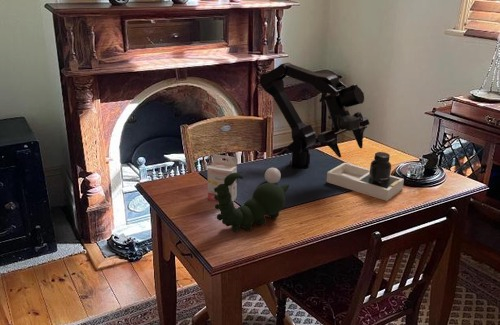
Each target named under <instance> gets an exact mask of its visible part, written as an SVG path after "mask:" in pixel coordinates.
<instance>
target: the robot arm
mask: <svg viewBox="0 0 500 325" xmlns="http://www.w3.org/2000/svg"><path fill="white" fill-rule="evenodd" d="M287 77H289V78H291V79H295V80H297V81H299V82H303V83H306V84H308V85H310V86H312V88H314V90H315V91H318V93H319V92H320V93H321V96H320V99H319V100H318V102H320V103H322V102H325V105H326V108H327V112H328V119H329V120H331V122H332V123H331V124H332V127H331V129H332V130H326V131H323V132H321V133H319V134H318V135H317V136H316V133H317V132H316V131H314V129H313V127H312V125H311V124H306V123H304V122H303V121H302V119H301V117H300V116H299V113H298V112H297V110H296V109H295V106H294V105H293V103H292V100H290V98H289V96H288V95H287V92H286V91H285V82H284V79H285V78H287ZM258 81H259V85H260V86H261V87H262V89H263V90H264V92H265V93H266V94H268V95H269V96H271V97H272V98H273V100H274V101H275V103H276V105H277V107H278V108H279V110H280V112H281V114H282V115H283V117H284V120H286V122H287V125H288V126H289V127H290V130H291V139H292V142H291V143H290V144H288V145H287V148H288V152H290V153H291V157H290V161H289V163H290V166H291V168H292V169H298V168H299V169H305V168H306V169H309V168H310V166H309V165H310V164H311V154H310V151H309V149H310V150H311V149H312V147H313V145H314V144H316V140H318V143H322V144H325V145H326V146H328V147H329V148H330V149H331V151H333V152H334V154H335V155H336V156H337V157H338V158H342V155H341V154H342V153H341V151H340V148H339V145H338V138H336V136H339V135H340V134H342V133H346V132H347V131H349V132H350V131H351V132H352V133H353V136H354V138H355V141H356V143H357V145H358V147H359V148H360V149H363V143H364V142H363V141H364V138H363V137H364V132H365V130H366V129H367V128H368V125H370V120H369V118H368V117H367V116H364V117H363V114H362V112H361V111H357V112H354V114H352V115H351V114H350V112H349V110H346V108H350V107H354V106H355V107H356V106H358V105H361V104H363V103H364V102H365V94H364V92H363V91H362V89H361V88H360V87H359V86H358V84H357V83H355V84H352V85H350V86H347V85H346V84H344V83H343V82H342V81H340V79H339V77H338V76H337V75H335V74H331V73H323V72H322V73H321V72H320V73H319V72H315V71H312V70H310V69H306V68H303V67H301V66H298V65H296V64H295V65H294V64H292V63H291V62H285V63H281V64H279V65H278V66H277V67H276V68H274V69H272V70H270V71H267V72H264V73H261V75H260V76H259V80H258Z"/></svg>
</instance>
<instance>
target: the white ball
mask: <svg viewBox="0 0 500 325" xmlns="http://www.w3.org/2000/svg"><path fill="white" fill-rule="evenodd" d="M281 175H282V174H281V171H280V170H279V169H278V168H277V167H269V168H268V169H266V171H265V172H264V179H265V180H266V183H273V184H277V183H278V182H279V181H280V180H281Z"/></svg>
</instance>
